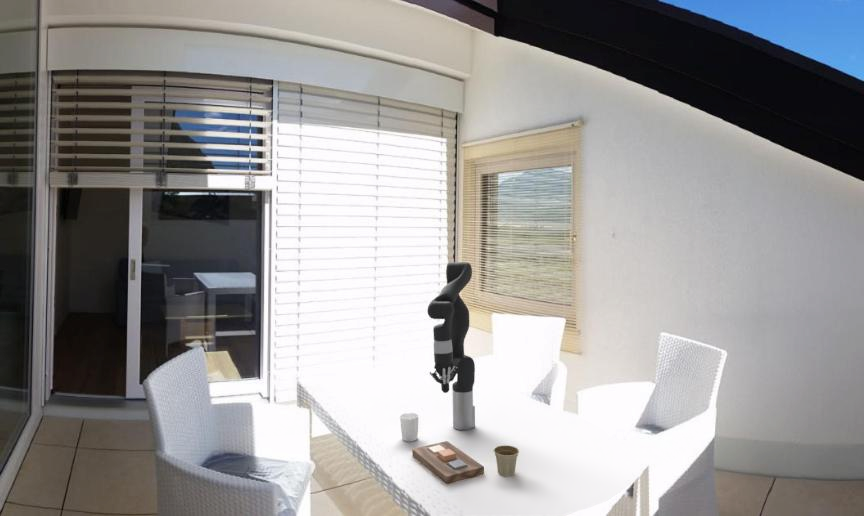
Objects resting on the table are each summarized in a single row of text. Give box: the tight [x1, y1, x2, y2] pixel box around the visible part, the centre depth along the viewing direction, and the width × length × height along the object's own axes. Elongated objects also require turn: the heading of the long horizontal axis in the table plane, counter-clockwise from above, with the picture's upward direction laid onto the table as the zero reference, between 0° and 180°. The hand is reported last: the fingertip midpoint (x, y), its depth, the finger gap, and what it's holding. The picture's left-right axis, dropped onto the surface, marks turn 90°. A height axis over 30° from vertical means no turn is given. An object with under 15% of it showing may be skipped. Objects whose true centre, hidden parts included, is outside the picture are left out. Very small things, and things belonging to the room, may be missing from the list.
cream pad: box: [428, 445, 446, 454], centre depth 224 cm, size 5×5×3 cm
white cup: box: [399, 412, 419, 442], centre depth 244 cm, size 8×8×10 cm
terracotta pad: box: [438, 449, 456, 462], centre depth 217 cm, size 5×5×3 cm
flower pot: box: [493, 444, 520, 477], centre depth 209 cm, size 9×9×9 cm
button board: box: [411, 440, 485, 486], centre depth 217 cm, size 16×28×3 cm, turn 28°
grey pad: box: [448, 459, 467, 470], centre depth 210 cm, size 5×5×3 cm
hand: (445, 392), depth 228 cm, fingers closed
